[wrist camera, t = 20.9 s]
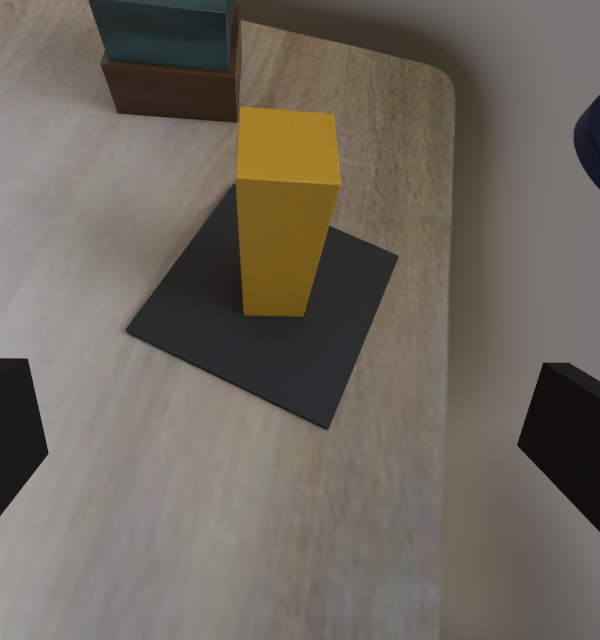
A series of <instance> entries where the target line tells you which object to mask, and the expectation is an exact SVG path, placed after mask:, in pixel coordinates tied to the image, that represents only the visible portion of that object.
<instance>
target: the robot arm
mask: <svg viewBox="0 0 600 640" xmlns="http://www.w3.org/2000/svg"><path fill="white" fill-rule="evenodd" d="M517 446H518V447H519V448H520V449H521V450H522V451H523V452H524V453H525V454H526V455H527V456H528V457H529V458H530V459H531V460H532V461H533V462H534V463H535V465H537V467H538V468H539V469H540V470H541V471H543V473H544V474H545V475H546V476H547V477H548V478H549V479H550V480H551V481H552V482H553V483H554V484H555V485H556V487H557V488H558V489H559V490H560V491H561V492H562V493H563V494H564V495H565V496H566V497H567V498H568V499H569V500H570V501H571V502H572V503H573V504H574V505H575V506H576V507H577V508H578V510H579V511H580V512H581V513H582V514H583V515H584V516H585V517H586V518H587V519H588V520H589V521H590V522H591V523H592V524H593V525H594V526H595V527H596V528H597V529H598V530H599V531H600V381H598V380H597V379H595V378H593V377H592V376H590V375H588V374H587V373H585V372H583V371H582V370H580V369H578V368H577V367H575V366H573V365H571V364H570V363H543V365H542V368H541V371H540V375H539V378H538V381H537V384H536V387H535V391H534V394H533V397H532V400H531V403H530V406H529V409H528V412H527V415H526V419H525V422H524V425H523V428H522V431H521V434H520V437H519V441H518V444H517ZM48 454H49V453H48V448H47V444H46V439H45V435H44V430H43V426H42V421H41V416H40V412H39V407H38V403H37V398H36V394H35V389H34V385H33V380H32V376H31V371H30V367H29V362H28V359H22V358H0V516H1V514H2V513H3V512H4V510H5V509H6V508H7V507H8V505H9V504H10V503H11V501H12V500H13V499H14V498H15V496H16V495H17V494H18V492H19V491H20V490H21V489H22V487H23V486H24V485H25V483H26V482H27V481H28V480H29V478H30V477H31V476H32V474H33V473H34V472H35V471H36V469H37V468H38V467H39V465H40V464H41V463H42V462H43V460H44V459H45V458H46V456H47V455H48Z"/></svg>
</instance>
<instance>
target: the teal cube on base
mask: <svg viewBox="0 0 600 640" xmlns="http://www.w3.org/2000/svg"><path fill="white" fill-rule="evenodd" d="M89 3H90V6H91V9H92V12H93V15H94V18H95V21H96V24H97V27H98V30H99V33H100V36H101V39H102V42H103V45H104V48H105V51H104V54H103V58H102V61H101V67H102V70H103V73H104V75H105V78H106V81H107V84H108V86H109V89H110V92H111V95H112V98H113V100H114V103H115V106H116V109H117V111H118V113H128V114H141V115H153V116H166V117H178V118H191V119H203V120H215V121H228V122H237V119H238V103H239V87H240V71H241V54H242V48H241V14H240V5H234V0H89Z"/></svg>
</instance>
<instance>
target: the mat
mask: <svg viewBox="0 0 600 640" xmlns="http://www.w3.org/2000/svg"><path fill="white" fill-rule="evenodd" d="M397 259H398V256H397V255H395V254H393V253H390V252H388V251H386V250H383V249H381V248H379V247H377V246H374V245H372V244H370V243H367V242H365V241H363V240H361V239H358V238H356V237H354V236H351V235H349V234H347V233H345V232H342V231H340V230H338V229H335V228H333V227H331V226H329V228H328V232H327V235H326V239H325V242H324V246H323V250H322V253H321V257H320V260H319V264H318V267H317V271H316V274H315V278H314V281H313V285H312V288H311V292H310V295H309V299H308V303H307V306H306V310H305V313H304V316H303V317H291V316H247V315H244V313H243V296H242V280H241V263H240V246H239V230H238V213H237V196H236V185H235V184H233V186H232V187H231V188H230V190H229V191H228V192H227V194H226V195H225V196H224V198H223V199H222V200H221V202H220V203H219V205H218V206H217V207H216V209H215V210H214V211H213V213H212V214H211V215H210V217H209V218H208V219H207V221H206V222H205V223H204V225H203V226H202V227H201V229H200V230H199V231H198V233H197V234H196V235H195V237H194V238H193V240H192V241H191V242H190V244H189V245H188V246H187V248H186V249H185V250H184V252H183V253H182V254H181V256H180V257H179V258H178V260H177V261H176V262H175V264H174V265H173V266H172V268H171V269H170V270H169V272H168V273H167V274H166V276H165V277H164V279H163V280H162V281H161V283H160V284H159V285H158V287H157V288H156V289H155V291H154V292H153V293H152V295H151V296H150V297H149V299H148V300H147V301H146V303H145V304H144V305H143V307H142V308H141V309H140V311H139V312H138V313H137V315H136V316H135V318H134V319H133V320H132V322H131V323H130V324H129V326H128V327H127V328H126V332H127V333H129V334H131V335H133V336H135V337H137V338H139V339H142V340H144V341H146V342H148V343H150V344H152V345H154V346H156V347H158V348H160V349H162V350H164V351H166V352H168V353H170V354H172V355H175V356H177V357H179V358H181V359H183V360H185V361H187V362H189V363H191V364H193V365H195V366H197V367H199V368H201V369H203V370H205V371H207V372H210V373H212V374H214V375H216V376H218V377H220V378H222V379H224V380H226V381H228V382H230V383H232V384H234V385H236V386H238V387H240V388H242V389H245V390H247V391H249V392H251V393H253V394H255V395H257V396H259V397H261V398H263V399H265V400H267V401H269V402H271V403H273V404H275V405H278V406H280V407H282V408H284V409H286V410H288V411H290V412H292V413H294V414H296V415H298V416H300V417H302V418H304V419H306V420H308V421H310V422H313V423H315V424H317V425H319V426H321V427H323V428H325V429H328V428H329V426H330V424H331V421H332V419H333V417H334V414H335V412H336V409H337V407H338V404H339V402H340V399H341V397H342V394H343V392H344V390H345V387H346V385H347V382H348V380H349V377H350V375H351V372H352V370H353V367H354V365H355V362H356V360H357V358H358V355H359V353H360V350H361V348H362V345H363V343H364V340H365V338H366V335H367V333H368V331H369V328H370V326H371V323H372V321H373V318H374V316H375V313H376V311H377V308H378V306H379V304H380V301H381V299H382V296H383V294H384V291H385V289H386V286H387V284H388V281H389V279H390V276H391V274H392V272H393V269H394V267H395V264H396V262H397Z"/></svg>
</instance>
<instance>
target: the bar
mask: <svg viewBox="0 0 600 640" xmlns="http://www.w3.org/2000/svg"><path fill="white" fill-rule="evenodd" d="M235 179H236V196H237V213H238V230H239V246H240V263H241V280H242V296H243V313H244V315H247V316H291V317H303V316H304V313H305V310H306V306H307V303H308V299H309V295H310V292H311V288H312V285H313V281H314V278H315V274H316V271H317V267H318V264H319V260H320V257H321V253H322V250H323V246H324V242H325V239H326V235H327V232H328V228H329V225H330V221H331V218H332V214H333V211H334V207H335V204H336V200H337V197H338V193H339V189H340V186H341V181H340V171H339V160H338V150H337V139H336V129H335V118H334V114H326V113H314V112H302V111H291V110H279V109H267V108H255V107H244V106H240V110H239V126H238V143H237V160H236V177H235Z"/></svg>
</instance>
